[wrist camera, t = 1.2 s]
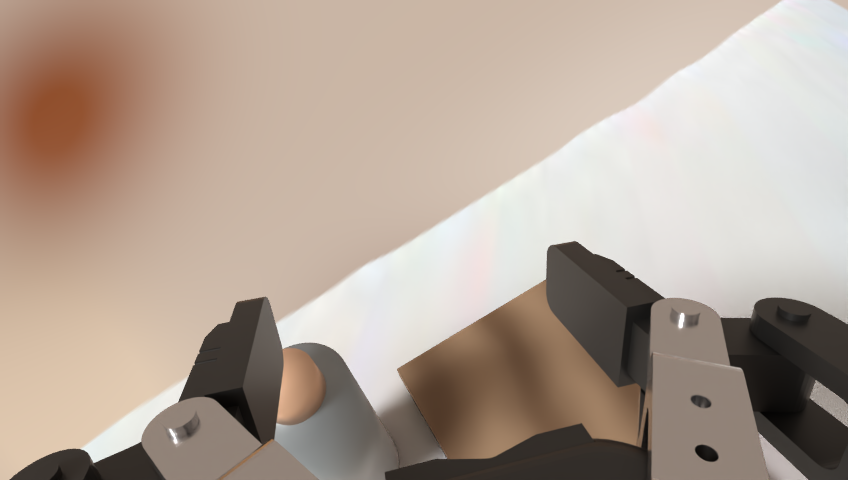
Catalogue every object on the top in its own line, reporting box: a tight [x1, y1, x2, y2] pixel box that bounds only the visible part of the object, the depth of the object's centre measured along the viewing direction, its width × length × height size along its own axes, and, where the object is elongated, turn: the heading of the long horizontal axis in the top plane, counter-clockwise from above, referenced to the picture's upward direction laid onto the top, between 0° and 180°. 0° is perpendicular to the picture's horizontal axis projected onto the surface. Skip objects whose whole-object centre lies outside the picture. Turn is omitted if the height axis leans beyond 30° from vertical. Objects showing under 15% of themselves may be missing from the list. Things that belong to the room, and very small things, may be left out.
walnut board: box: [397, 280, 640, 459], centre depth 28 cm, size 14×18×1 cm
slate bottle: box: [274, 343, 399, 480], centre depth 24 cm, size 5×5×14 cm
